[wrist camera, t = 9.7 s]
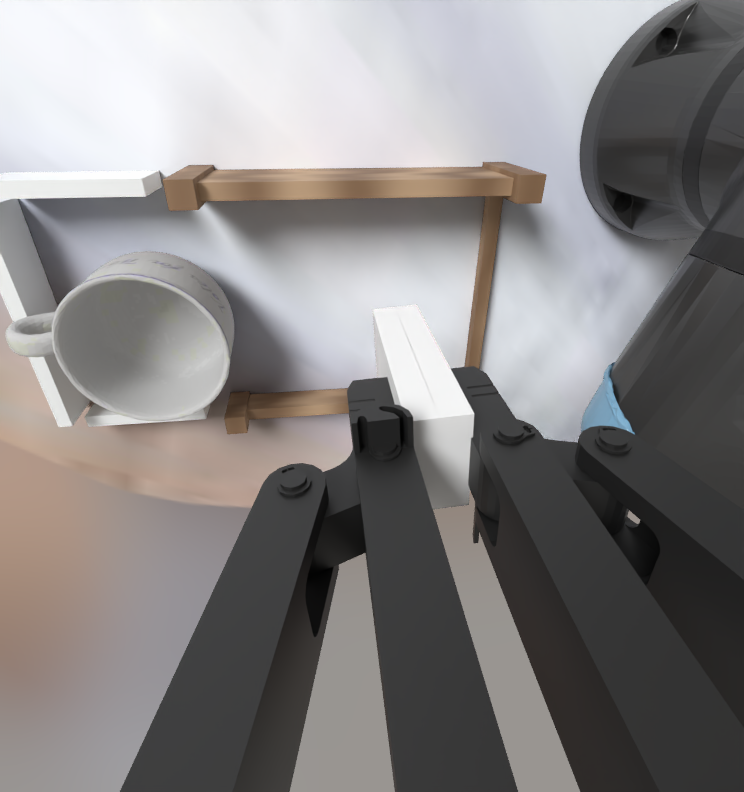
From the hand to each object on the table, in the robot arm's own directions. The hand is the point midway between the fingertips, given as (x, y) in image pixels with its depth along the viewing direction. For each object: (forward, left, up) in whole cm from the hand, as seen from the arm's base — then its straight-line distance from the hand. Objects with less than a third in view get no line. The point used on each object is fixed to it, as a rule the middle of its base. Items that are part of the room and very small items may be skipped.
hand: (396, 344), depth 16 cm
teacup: (+15, +6, -22) cm, 28 cm away
